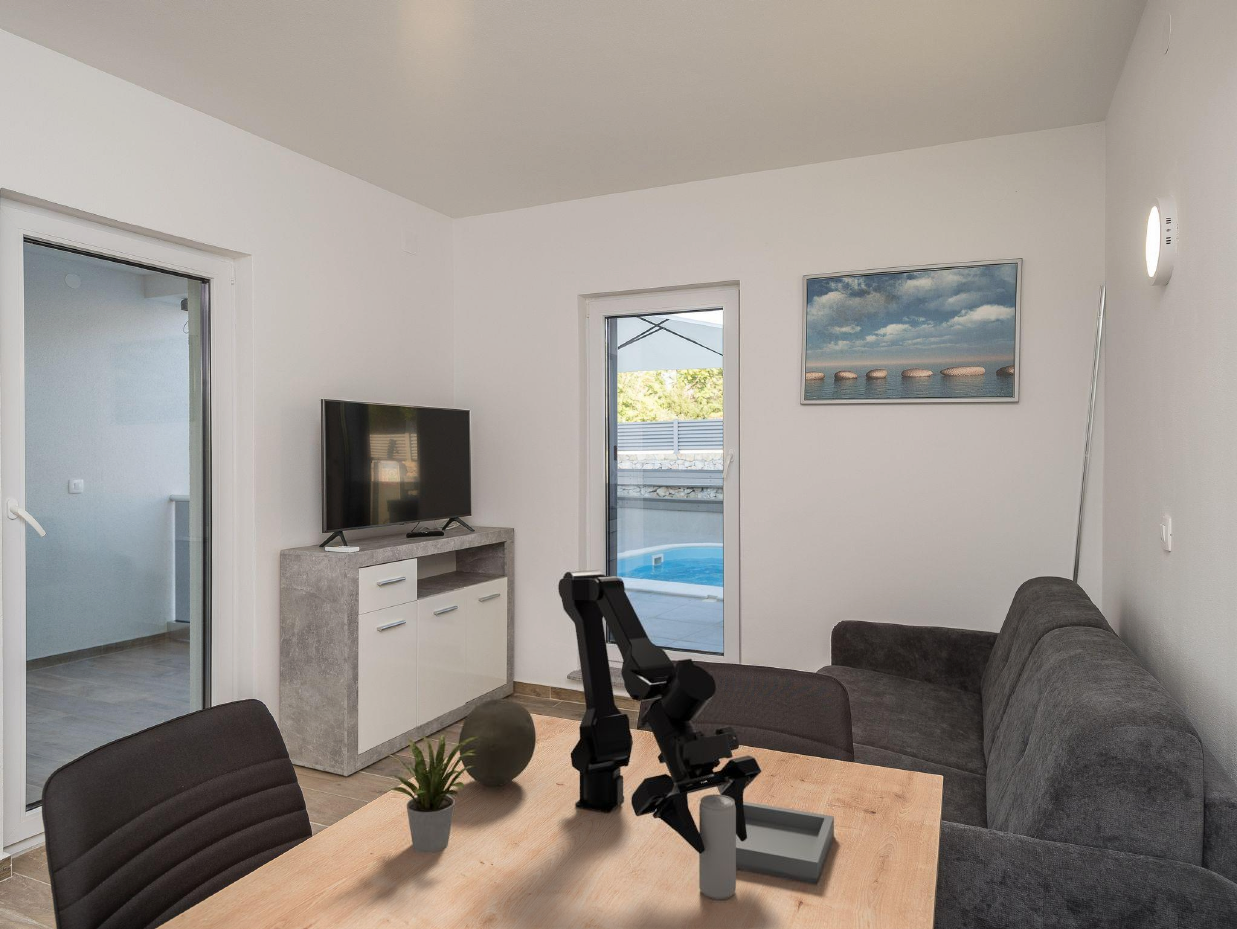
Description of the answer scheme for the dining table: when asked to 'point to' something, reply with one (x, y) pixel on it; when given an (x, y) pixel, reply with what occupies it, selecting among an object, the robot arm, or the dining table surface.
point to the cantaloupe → (497, 741)
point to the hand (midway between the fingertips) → (723, 846)
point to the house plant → (432, 796)
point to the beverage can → (717, 846)
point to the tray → (784, 842)
